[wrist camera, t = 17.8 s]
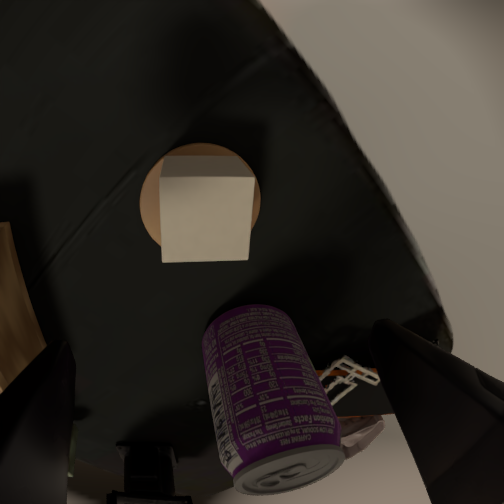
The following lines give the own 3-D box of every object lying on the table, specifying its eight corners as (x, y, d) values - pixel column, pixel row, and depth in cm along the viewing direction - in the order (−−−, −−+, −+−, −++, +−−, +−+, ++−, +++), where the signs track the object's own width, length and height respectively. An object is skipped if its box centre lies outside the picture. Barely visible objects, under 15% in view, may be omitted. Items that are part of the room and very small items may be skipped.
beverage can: (231, 376, 26) (262, 504, 16) (182, 328, 23) (198, 482, 13) (304, 338, 26) (364, 462, 16) (267, 280, 22) (334, 429, 12)
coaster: (253, 252, 21) (255, 257, 21) (144, 256, 20) (143, 260, 19) (263, 144, 18) (265, 146, 17) (139, 143, 16) (137, 145, 16)
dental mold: (311, 467, 30) (299, 433, 34) (363, 455, 31) (348, 425, 36) (336, 430, 26) (319, 393, 31) (392, 417, 28) (373, 385, 32)
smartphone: (435, 403, 28) (437, 409, 27) (284, 411, 31) (283, 418, 30) (456, 357, 24) (459, 363, 23) (279, 366, 28) (278, 373, 27)
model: (256, 346, 25) (257, 342, 25) (245, 425, 30) (245, 421, 31) (393, 361, 24) (392, 357, 24) (350, 435, 29) (350, 431, 30)
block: (233, 222, 19) (248, 260, 15) (165, 223, 18) (162, 262, 14) (237, 155, 17) (255, 177, 13) (164, 155, 16) (159, 177, 13)
